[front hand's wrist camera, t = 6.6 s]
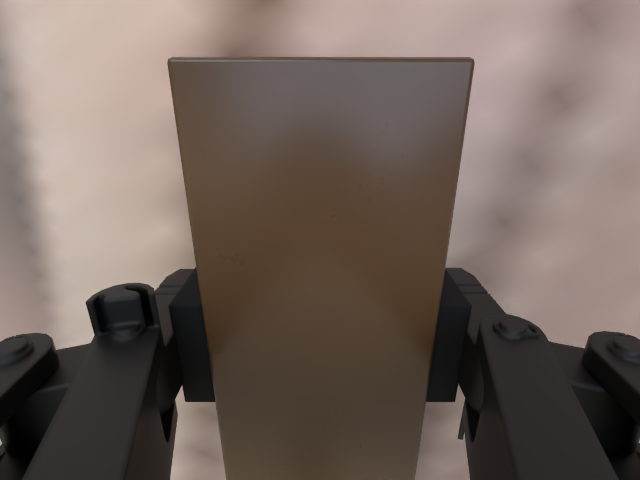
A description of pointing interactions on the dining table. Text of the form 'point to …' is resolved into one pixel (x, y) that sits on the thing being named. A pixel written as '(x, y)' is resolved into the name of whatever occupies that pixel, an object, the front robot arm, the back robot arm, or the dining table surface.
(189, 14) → the dining table surface
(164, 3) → the dining table surface
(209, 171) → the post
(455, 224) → the dining table surface
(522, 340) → the front robot arm
